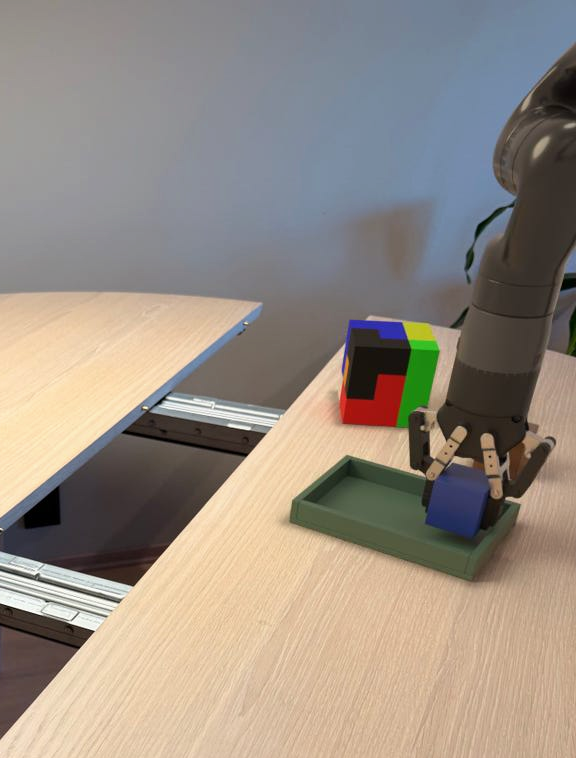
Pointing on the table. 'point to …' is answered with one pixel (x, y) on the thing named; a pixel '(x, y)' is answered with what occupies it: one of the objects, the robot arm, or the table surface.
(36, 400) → the table surface
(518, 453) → the brown cube
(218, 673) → the table surface
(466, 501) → the blue cube
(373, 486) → the tray
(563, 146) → the robot arm
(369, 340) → the puzzle toy
